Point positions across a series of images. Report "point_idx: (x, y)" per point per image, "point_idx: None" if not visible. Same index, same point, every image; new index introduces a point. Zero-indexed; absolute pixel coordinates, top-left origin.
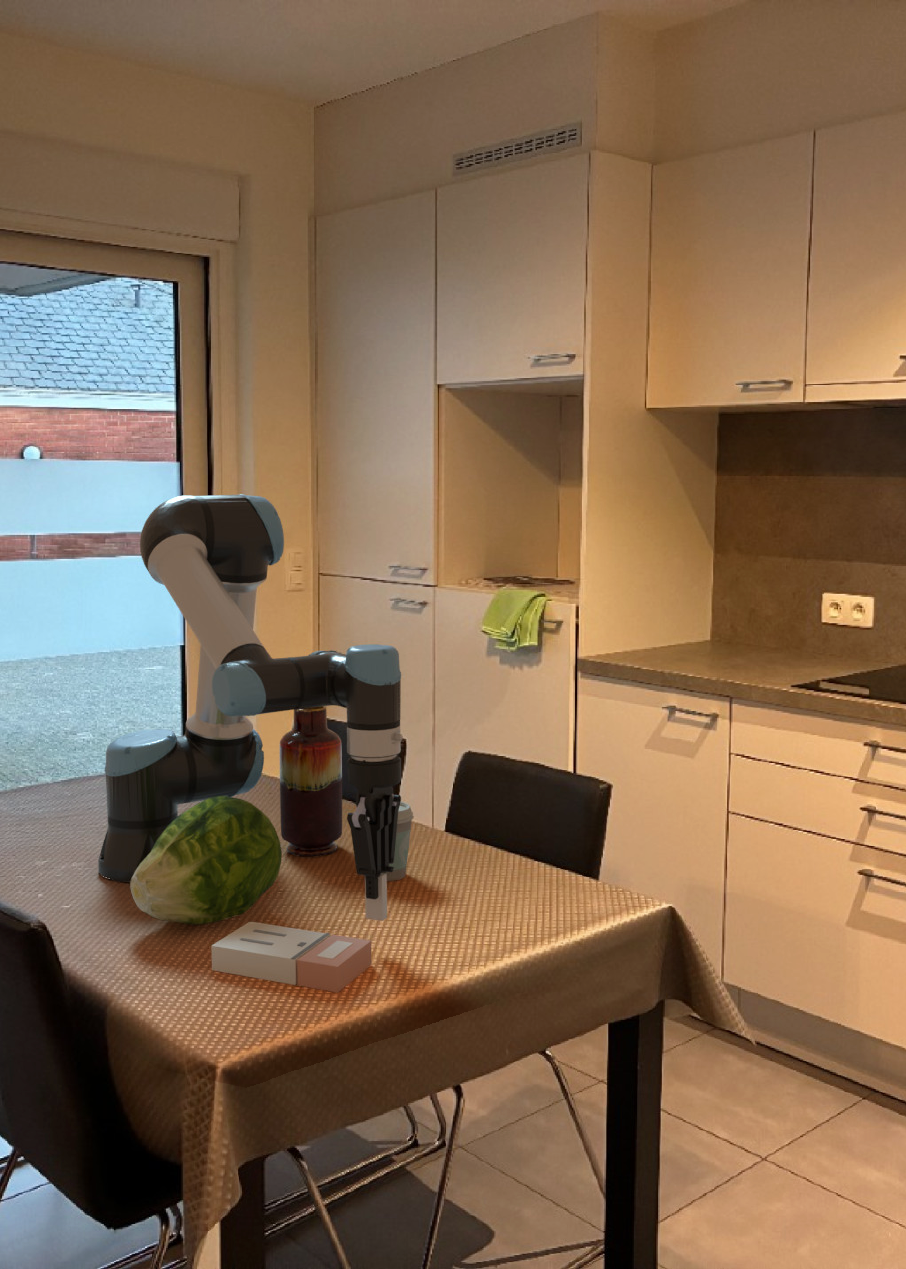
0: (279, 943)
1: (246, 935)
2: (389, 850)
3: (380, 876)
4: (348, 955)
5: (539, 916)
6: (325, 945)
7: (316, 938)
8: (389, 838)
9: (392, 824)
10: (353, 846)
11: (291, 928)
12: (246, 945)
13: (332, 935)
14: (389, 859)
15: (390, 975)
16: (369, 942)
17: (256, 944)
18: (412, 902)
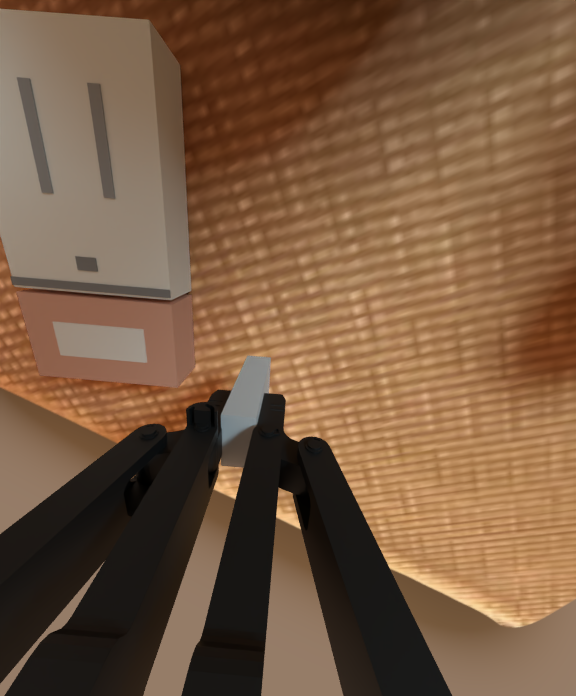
0: (64, 207)
1: (55, 79)
2: (301, 521)
3: (222, 460)
4: (93, 374)
5: (465, 525)
6: (111, 315)
7: (133, 280)
8: (315, 572)
9: (339, 676)
10: (7, 531)
11: (158, 189)
12: (2, 123)
13: (166, 307)
14: (293, 494)
15: (172, 404)
16: (170, 386)
17: (24, 148)
18: (526, 334)
